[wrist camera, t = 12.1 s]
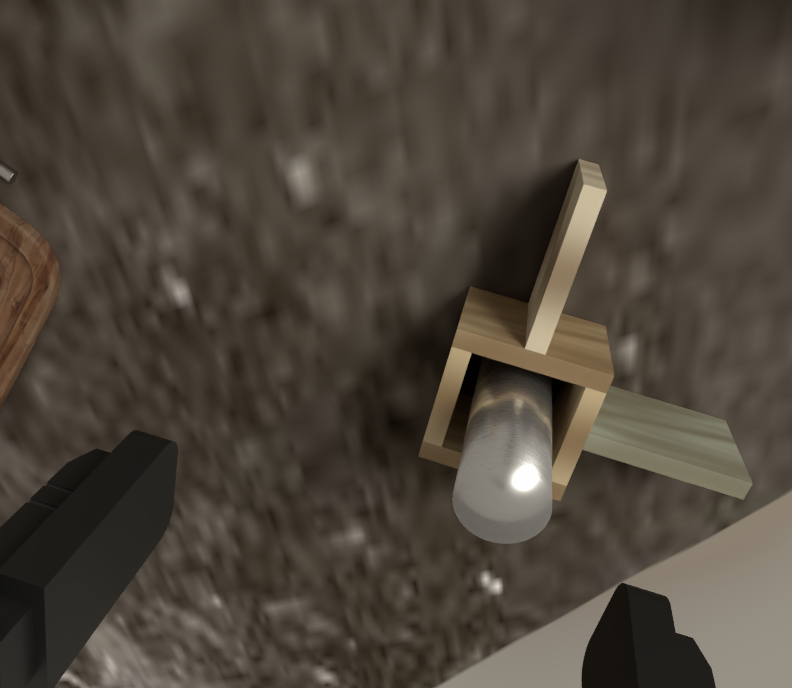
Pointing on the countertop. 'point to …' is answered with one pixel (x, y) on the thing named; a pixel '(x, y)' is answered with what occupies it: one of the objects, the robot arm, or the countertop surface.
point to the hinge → (578, 374)
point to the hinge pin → (506, 455)
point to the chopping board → (22, 289)
